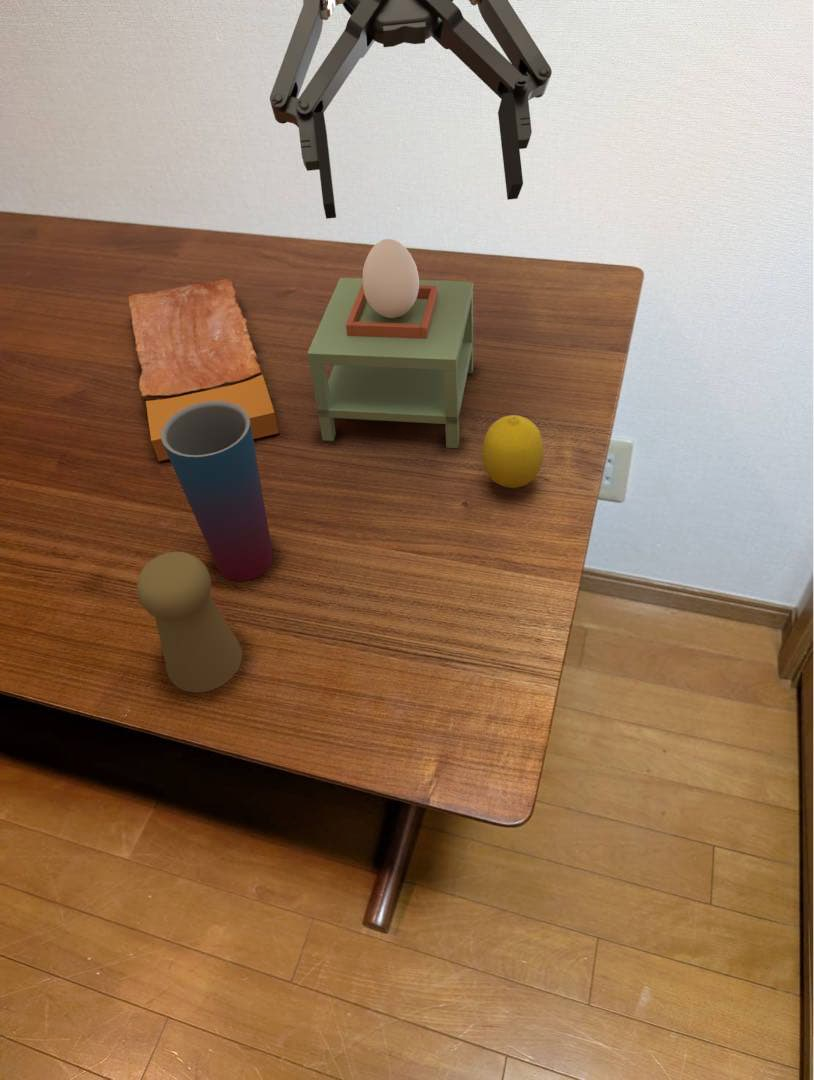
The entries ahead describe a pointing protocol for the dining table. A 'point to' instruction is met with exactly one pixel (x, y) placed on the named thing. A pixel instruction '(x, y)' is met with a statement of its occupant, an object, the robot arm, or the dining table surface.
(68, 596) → the dining table surface
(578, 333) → the dining table surface
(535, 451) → the lemon
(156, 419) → the salmon fillet board
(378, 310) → the egg
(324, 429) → the green side table
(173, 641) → the cork
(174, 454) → the cup
